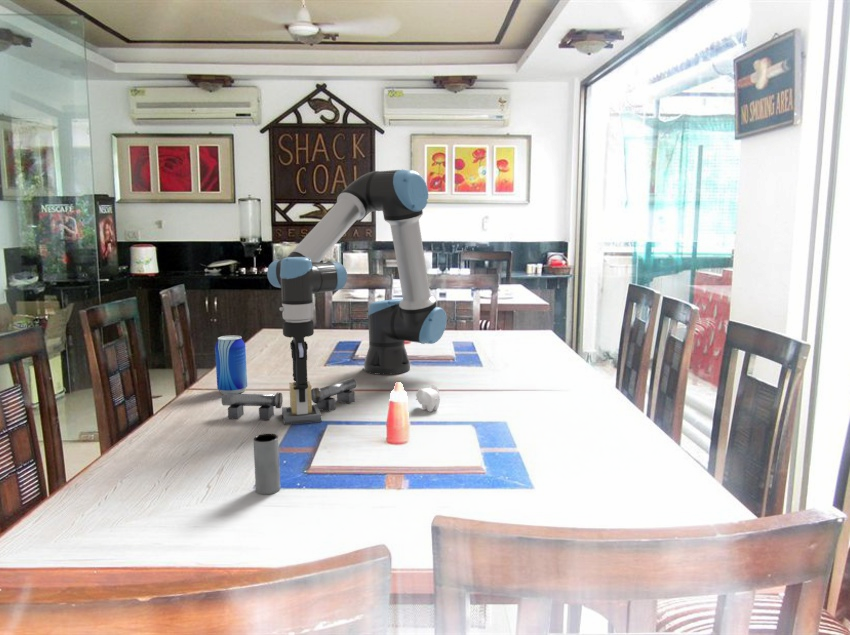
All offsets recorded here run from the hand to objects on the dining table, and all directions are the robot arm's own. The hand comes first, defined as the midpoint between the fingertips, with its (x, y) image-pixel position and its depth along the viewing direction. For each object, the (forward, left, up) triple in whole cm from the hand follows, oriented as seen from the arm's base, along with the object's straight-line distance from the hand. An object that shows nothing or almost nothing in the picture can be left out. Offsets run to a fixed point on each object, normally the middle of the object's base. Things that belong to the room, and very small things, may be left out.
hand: (301, 409), depth 166 cm
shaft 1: (+12, -4, -2) cm, 13 cm away
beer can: (+17, -31, -2) cm, 35 cm away
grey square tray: (0, 0, -2) cm, 2 cm away
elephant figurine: (-33, +2, -2) cm, 33 cm away
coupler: (0, 0, 0) cm, 0 cm away
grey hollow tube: (+10, +42, -2) cm, 43 cm away
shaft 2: (-10, -8, -2) cm, 13 cm away
